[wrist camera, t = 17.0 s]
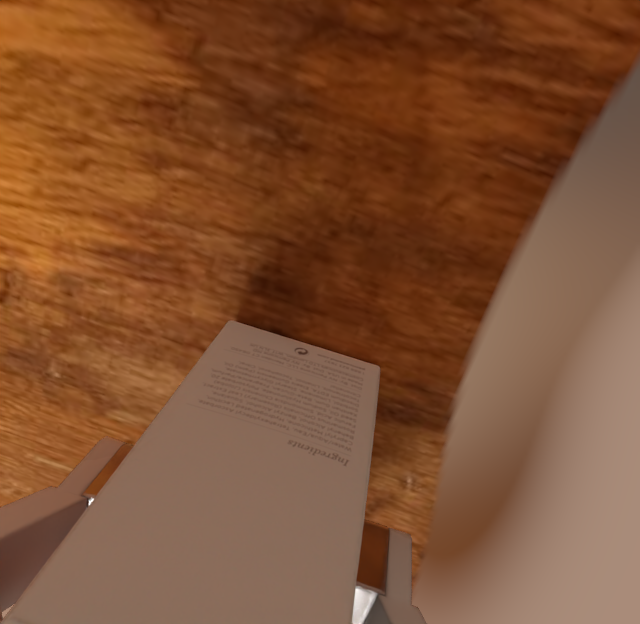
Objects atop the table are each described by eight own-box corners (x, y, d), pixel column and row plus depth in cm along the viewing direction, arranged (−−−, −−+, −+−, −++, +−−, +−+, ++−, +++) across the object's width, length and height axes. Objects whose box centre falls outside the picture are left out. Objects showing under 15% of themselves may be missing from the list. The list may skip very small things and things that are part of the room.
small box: (230, 313, 12) (-16, 620, 5) (386, 362, 12) (344, 750, 5) (200, 473, 15) (14, 812, 8) (326, 516, 15) (246, 901, 8)
